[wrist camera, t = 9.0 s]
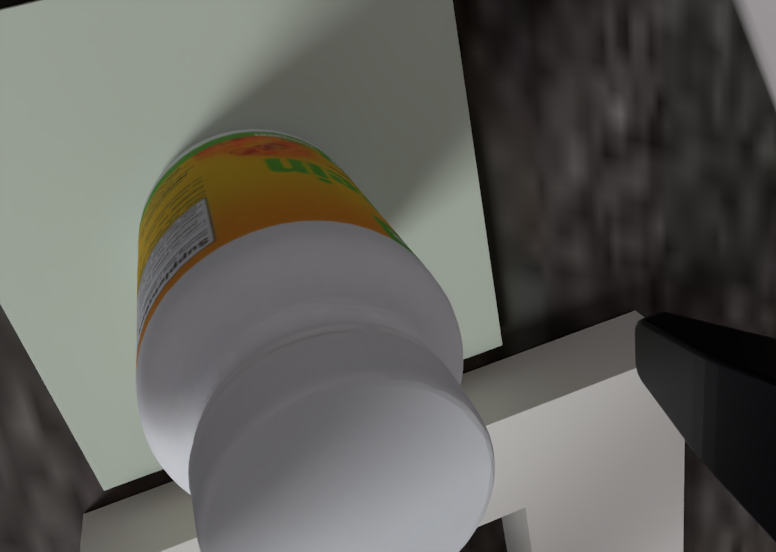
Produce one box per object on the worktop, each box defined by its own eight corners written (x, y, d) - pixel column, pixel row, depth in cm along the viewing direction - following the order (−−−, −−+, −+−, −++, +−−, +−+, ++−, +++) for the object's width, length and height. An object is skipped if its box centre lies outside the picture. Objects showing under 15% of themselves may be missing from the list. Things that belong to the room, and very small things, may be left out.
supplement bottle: (399, 196, 18) (619, 420, 10) (284, 359, 19) (396, 687, 11) (215, 77, 15) (300, 242, 7) (94, 272, 16) (45, 616, 8)
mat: (105, 476, 20) (104, 490, 19) (-134, 40, 14) (-144, 44, 13) (493, 335, 22) (502, 345, 21) (429, -94, 16) (438, -95, 15)
